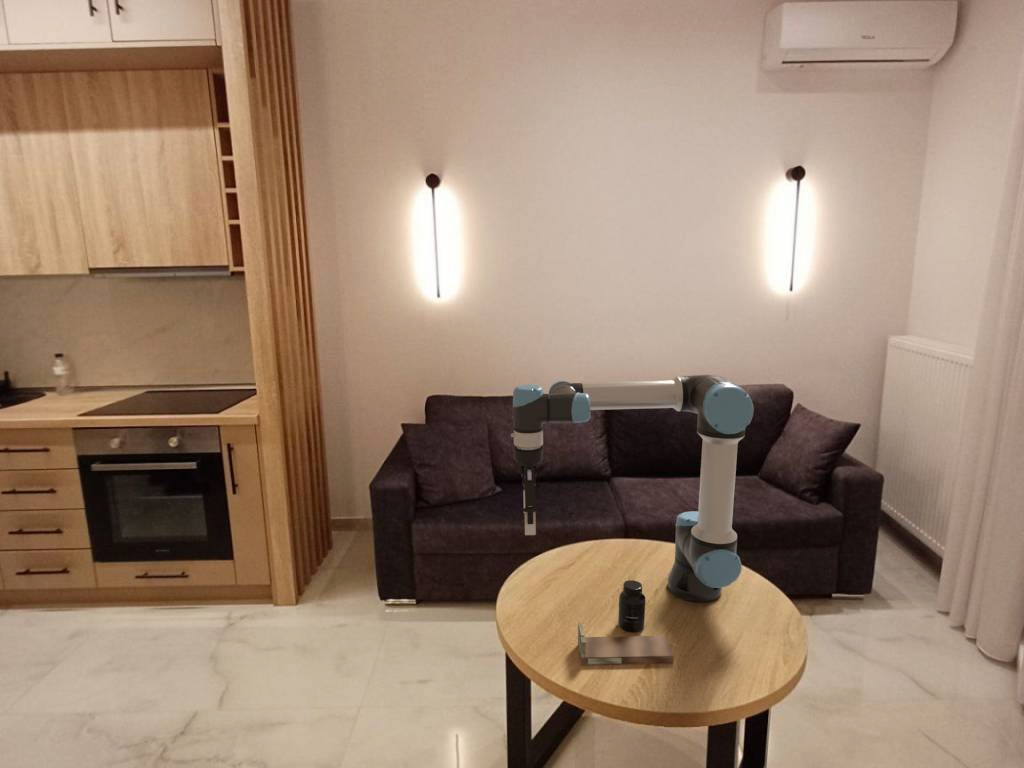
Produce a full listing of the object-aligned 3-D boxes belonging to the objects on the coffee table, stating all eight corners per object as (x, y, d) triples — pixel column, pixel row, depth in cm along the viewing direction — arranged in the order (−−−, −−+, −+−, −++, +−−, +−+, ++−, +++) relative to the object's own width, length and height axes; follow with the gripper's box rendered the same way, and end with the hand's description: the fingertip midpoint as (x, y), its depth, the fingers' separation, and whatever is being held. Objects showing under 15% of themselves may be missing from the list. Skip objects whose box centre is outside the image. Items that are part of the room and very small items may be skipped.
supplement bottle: (629, 636, 158) (630, 594, 155) (613, 623, 164) (613, 581, 161) (650, 628, 161) (651, 587, 159) (633, 615, 167) (634, 575, 164)
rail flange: (664, 642, 155) (665, 620, 154) (673, 663, 147) (674, 640, 146) (577, 643, 155) (578, 621, 154) (581, 665, 147) (581, 642, 146)
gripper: (513, 432, 169) (514, 504, 174) (514, 461, 145) (515, 544, 149) (540, 431, 169) (541, 504, 174) (545, 461, 145) (546, 544, 149)
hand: (529, 523), depth 161 cm, fingers open, 13 cm apart
